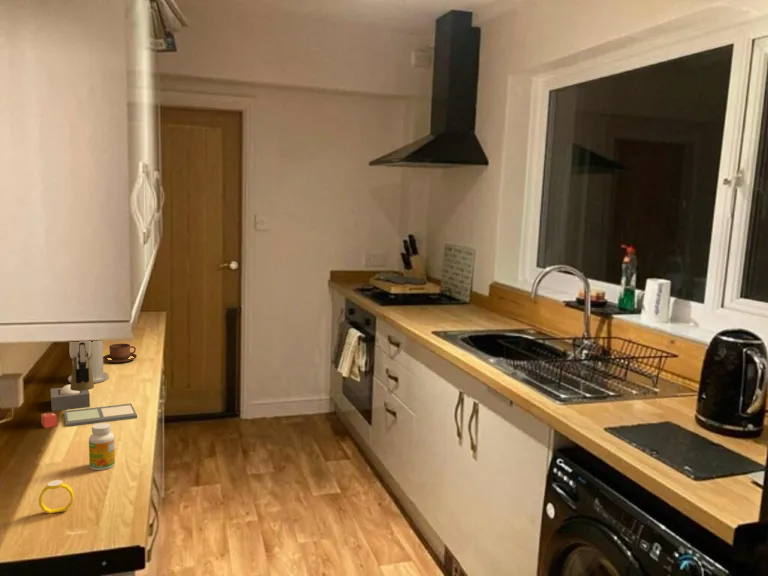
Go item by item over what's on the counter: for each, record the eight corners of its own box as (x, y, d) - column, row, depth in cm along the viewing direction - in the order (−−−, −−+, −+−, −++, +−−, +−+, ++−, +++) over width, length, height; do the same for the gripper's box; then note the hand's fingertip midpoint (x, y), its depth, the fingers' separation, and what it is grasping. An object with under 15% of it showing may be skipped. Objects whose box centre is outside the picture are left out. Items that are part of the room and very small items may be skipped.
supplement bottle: (84, 469, 146) (83, 428, 144) (98, 460, 151) (97, 420, 150) (106, 471, 145) (105, 430, 143) (119, 462, 150) (118, 422, 149)
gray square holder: (50, 401, 194) (50, 388, 193) (87, 397, 199) (86, 385, 198) (51, 411, 185) (51, 397, 185) (89, 406, 190) (89, 393, 189)
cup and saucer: (121, 356, 254) (121, 341, 253) (143, 360, 249) (143, 344, 248) (96, 362, 243) (95, 346, 242) (118, 366, 238) (118, 350, 237)
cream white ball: (59, 400, 193) (59, 383, 192) (79, 398, 195) (78, 381, 195) (60, 405, 188) (59, 388, 187) (80, 403, 191) (80, 386, 190)
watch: (75, 506, 128) (74, 478, 127) (73, 512, 125) (72, 483, 125) (41, 510, 126) (40, 481, 125) (38, 516, 123) (37, 487, 123)
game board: (64, 413, 183) (64, 410, 183) (131, 406, 192) (131, 403, 192) (66, 426, 173) (66, 423, 172) (137, 417, 181) (137, 414, 181)
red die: (41, 425, 173) (41, 414, 173) (53, 422, 175) (53, 411, 175) (45, 428, 171) (44, 416, 171) (57, 425, 173) (56, 414, 173)
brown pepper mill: (84, 391, 175) (83, 352, 174) (65, 389, 176) (64, 350, 175) (98, 385, 181) (97, 347, 180) (79, 384, 182) (78, 346, 181)
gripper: (63, 312, 182) (65, 374, 184) (66, 321, 167) (68, 389, 169) (92, 310, 186) (93, 372, 188) (97, 319, 171) (99, 386, 173)
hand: (81, 379), depth 179 cm, fingers closed on brown pepper mill, 4 cm apart
